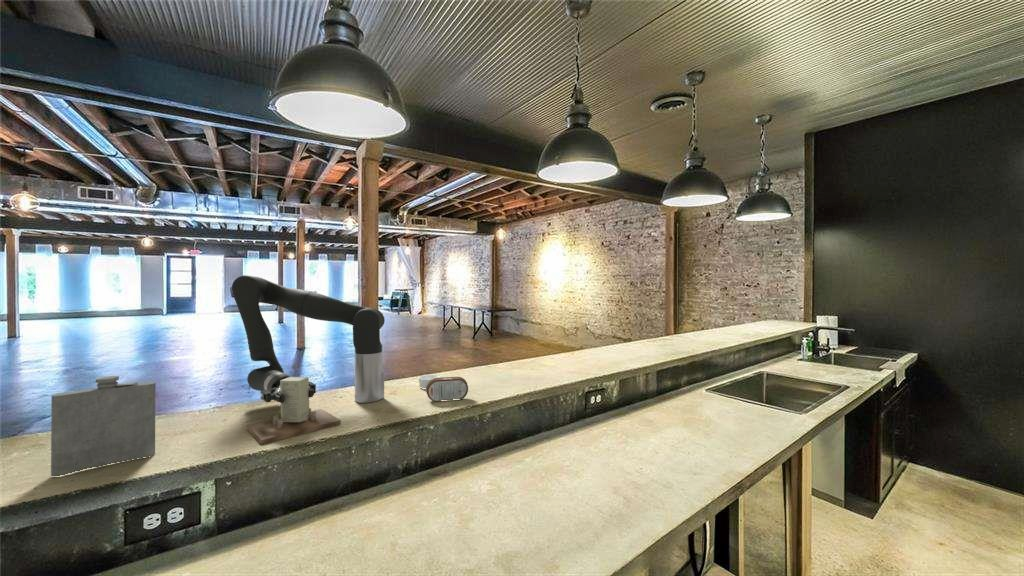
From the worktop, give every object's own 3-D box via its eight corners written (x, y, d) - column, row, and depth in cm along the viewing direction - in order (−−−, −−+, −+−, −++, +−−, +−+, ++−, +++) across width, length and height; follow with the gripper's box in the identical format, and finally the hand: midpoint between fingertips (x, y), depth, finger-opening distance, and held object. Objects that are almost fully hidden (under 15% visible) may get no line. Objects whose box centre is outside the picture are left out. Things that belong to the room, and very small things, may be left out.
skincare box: (309, 417, 109) (310, 376, 109) (299, 423, 105) (300, 380, 104) (290, 416, 110) (290, 376, 110) (279, 422, 105) (279, 379, 105)
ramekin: (443, 388, 149) (443, 377, 149) (422, 391, 144) (422, 380, 144) (436, 383, 157) (436, 373, 157) (415, 386, 152) (415, 376, 152)
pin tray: (321, 412, 119) (321, 401, 119) (340, 424, 109) (340, 411, 109) (247, 429, 105) (247, 416, 105) (261, 444, 95) (261, 430, 95)
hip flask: (49, 480, 77) (50, 384, 77) (53, 472, 80) (54, 381, 80) (155, 456, 88) (155, 373, 88) (155, 450, 91) (155, 370, 91)
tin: (467, 397, 136) (467, 375, 136) (468, 400, 133) (468, 377, 133) (426, 401, 132) (426, 377, 132) (426, 403, 129) (426, 379, 129)
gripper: (253, 377, 111) (268, 388, 100) (305, 370, 122) (324, 379, 111) (253, 402, 112) (268, 415, 100) (304, 392, 122) (323, 403, 111)
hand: (297, 396), depth 105 cm, fingers closed on skincare box, 7 cm apart
